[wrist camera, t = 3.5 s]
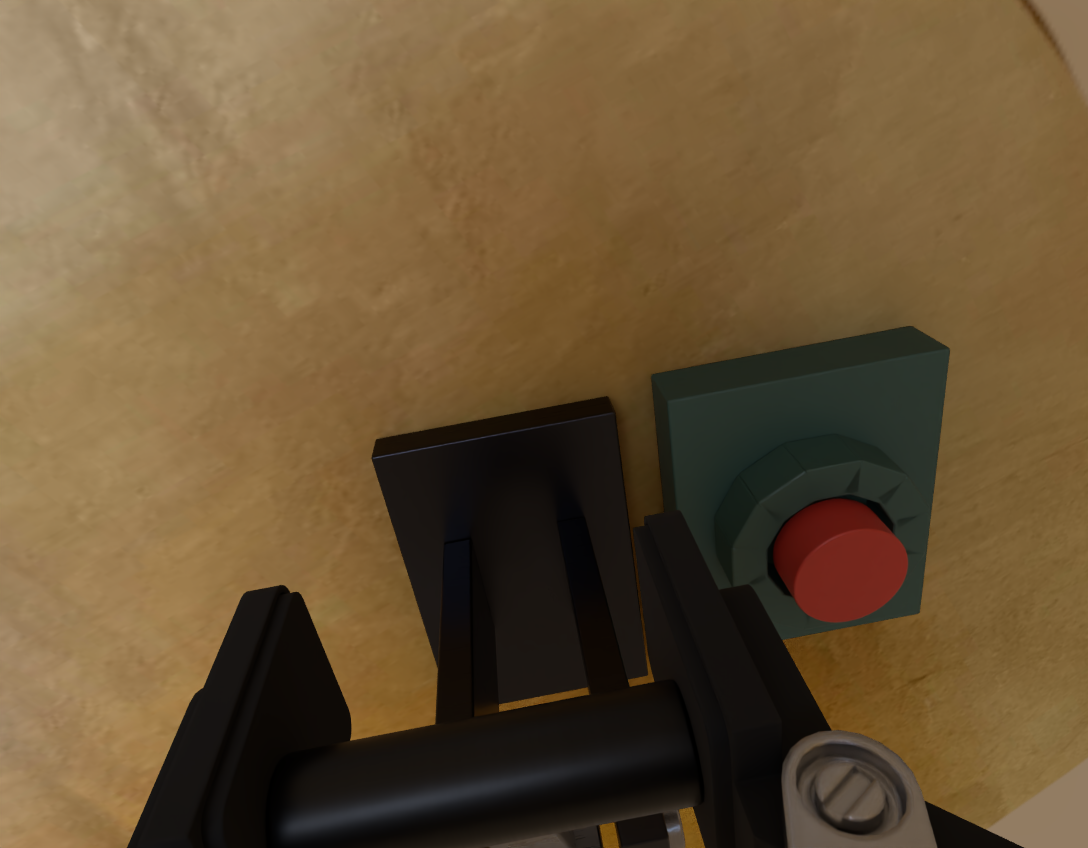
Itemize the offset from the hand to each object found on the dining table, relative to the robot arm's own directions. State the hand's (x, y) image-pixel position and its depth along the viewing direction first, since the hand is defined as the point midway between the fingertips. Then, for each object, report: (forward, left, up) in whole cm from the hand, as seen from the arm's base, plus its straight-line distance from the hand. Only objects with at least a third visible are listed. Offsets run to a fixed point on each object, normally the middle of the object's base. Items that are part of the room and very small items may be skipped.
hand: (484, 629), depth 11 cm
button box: (+8, +10, -13) cm, 18 cm away
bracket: (+9, 0, -13) cm, 16 cm away
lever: (+4, 0, -1) cm, 4 cm away
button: (+8, +10, -10) cm, 16 cm away
